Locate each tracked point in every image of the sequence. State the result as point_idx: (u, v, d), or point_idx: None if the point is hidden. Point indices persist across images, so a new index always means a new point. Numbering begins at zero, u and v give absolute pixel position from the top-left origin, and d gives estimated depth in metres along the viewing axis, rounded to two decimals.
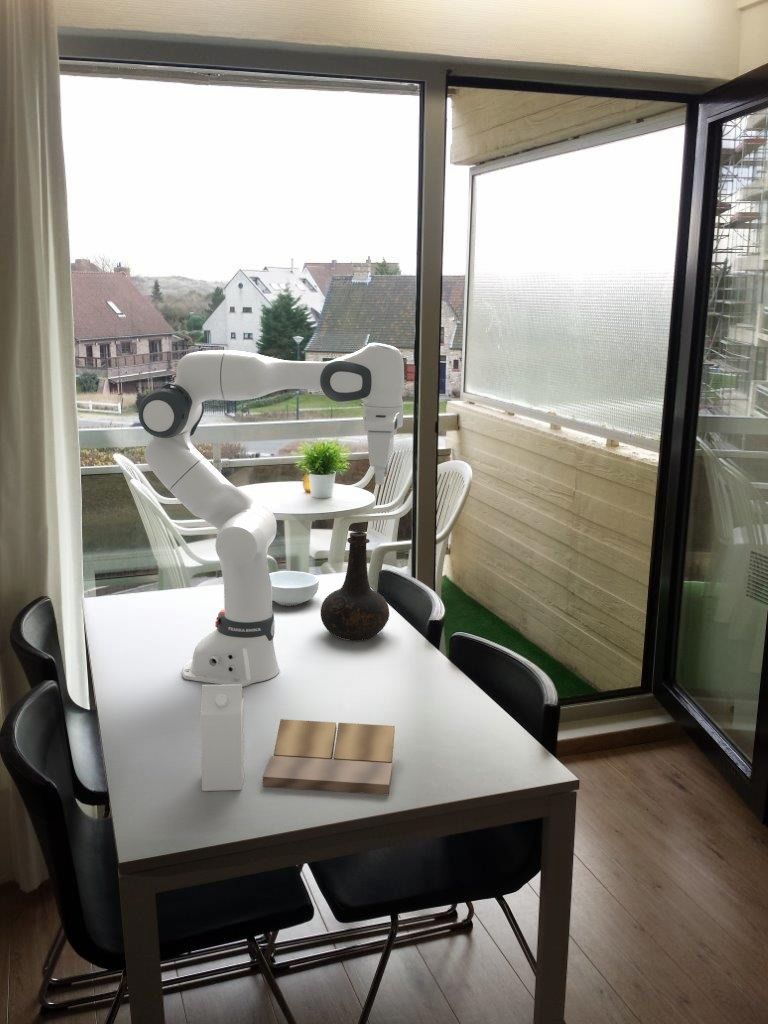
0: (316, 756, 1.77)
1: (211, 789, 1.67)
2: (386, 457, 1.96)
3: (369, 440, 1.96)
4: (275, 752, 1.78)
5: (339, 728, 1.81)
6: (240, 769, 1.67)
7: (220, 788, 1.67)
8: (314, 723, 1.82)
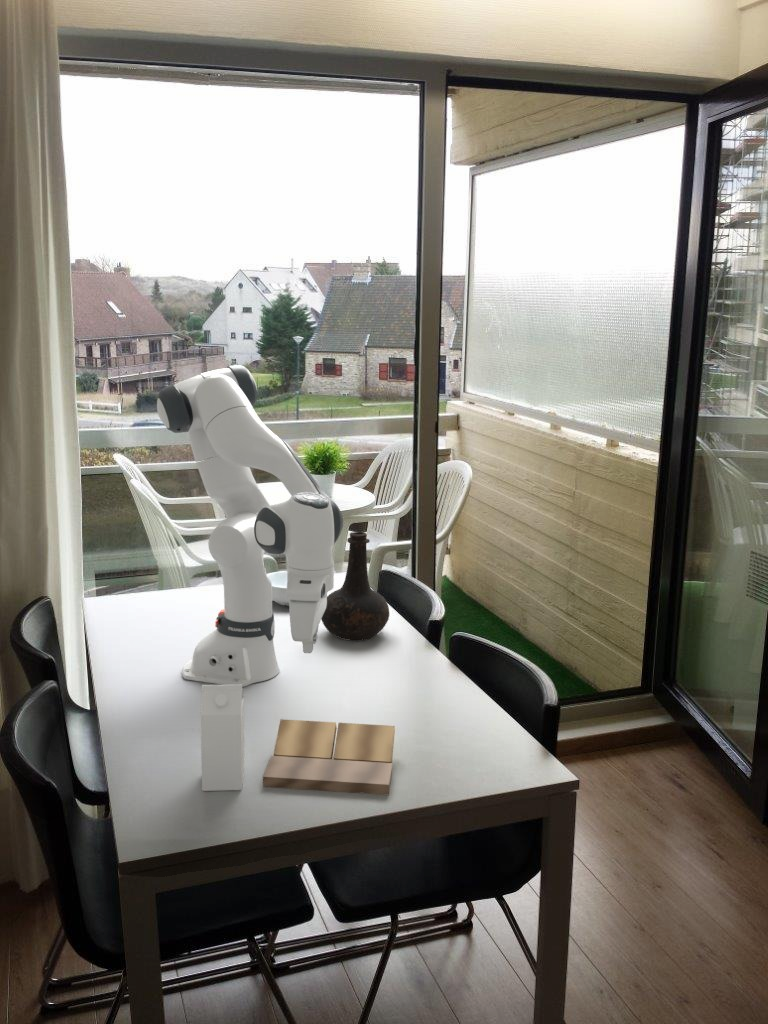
0: (316, 756, 1.77)
1: (211, 789, 1.67)
2: (311, 632, 1.69)
3: (291, 612, 1.69)
4: (275, 752, 1.78)
5: (339, 728, 1.81)
6: (240, 769, 1.67)
7: (220, 788, 1.67)
8: (314, 723, 1.82)
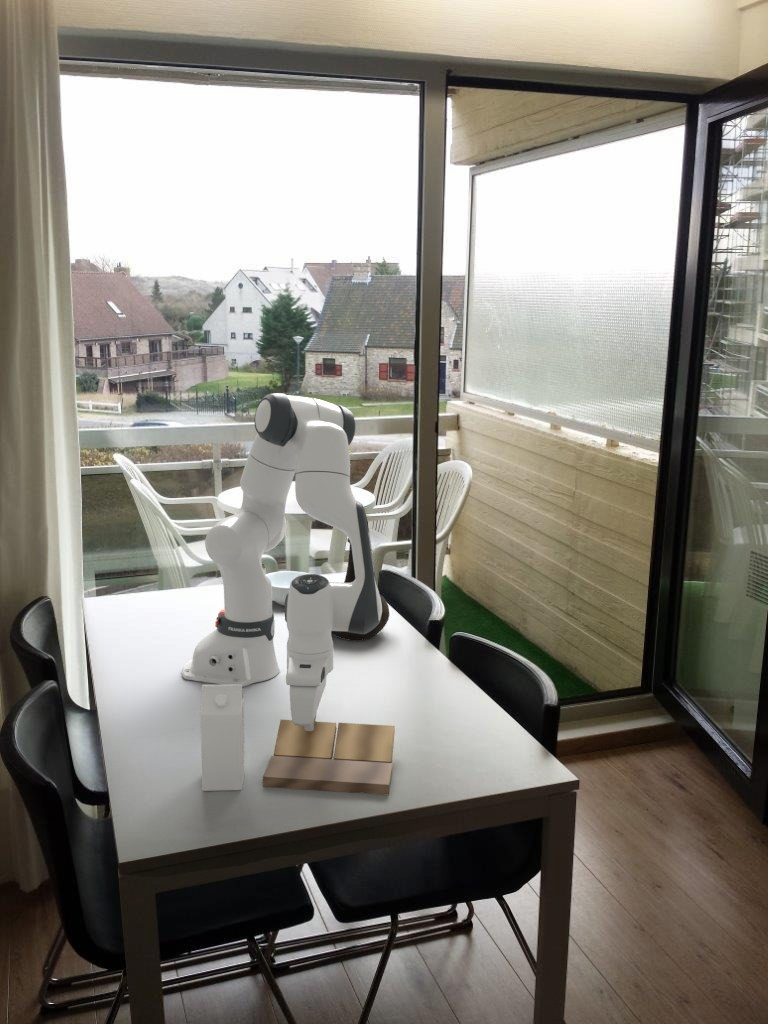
0: (316, 756, 1.77)
1: (211, 789, 1.67)
2: (311, 717, 1.70)
3: (291, 697, 1.69)
4: (275, 752, 1.78)
5: (339, 728, 1.81)
6: (240, 769, 1.67)
7: (220, 788, 1.67)
8: None
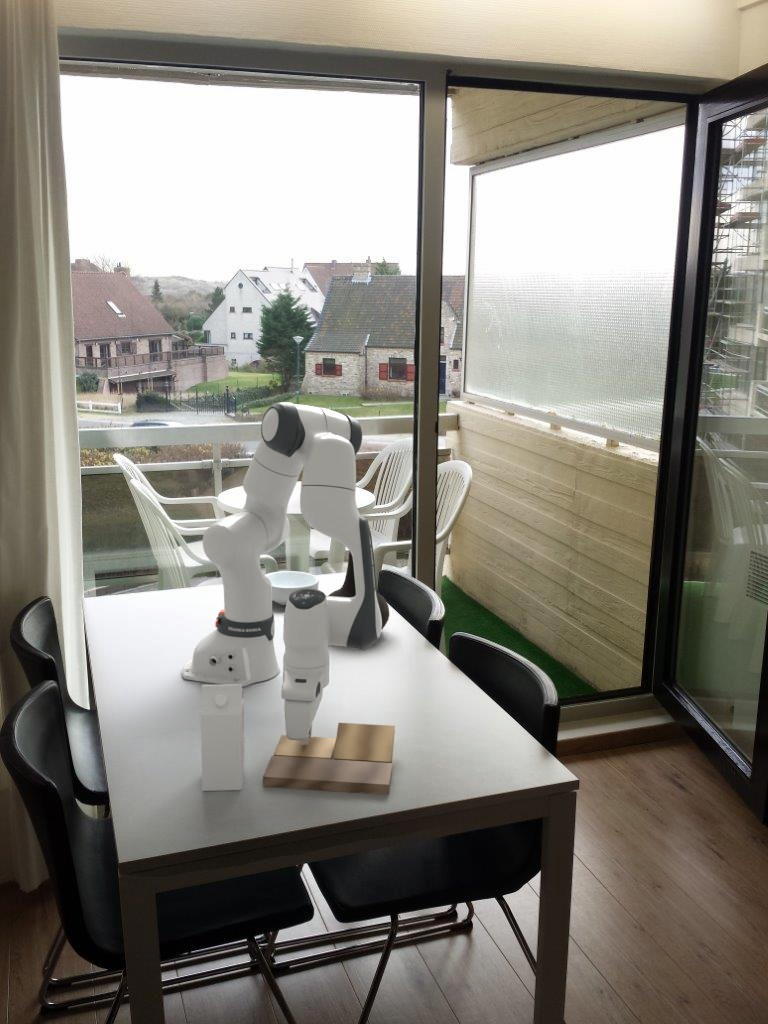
0: (316, 756, 1.77)
1: (211, 789, 1.67)
2: (305, 731, 1.70)
3: (286, 712, 1.70)
4: (275, 753, 1.78)
5: (339, 728, 1.81)
6: (240, 769, 1.67)
7: (220, 788, 1.67)
8: (315, 738, 1.84)
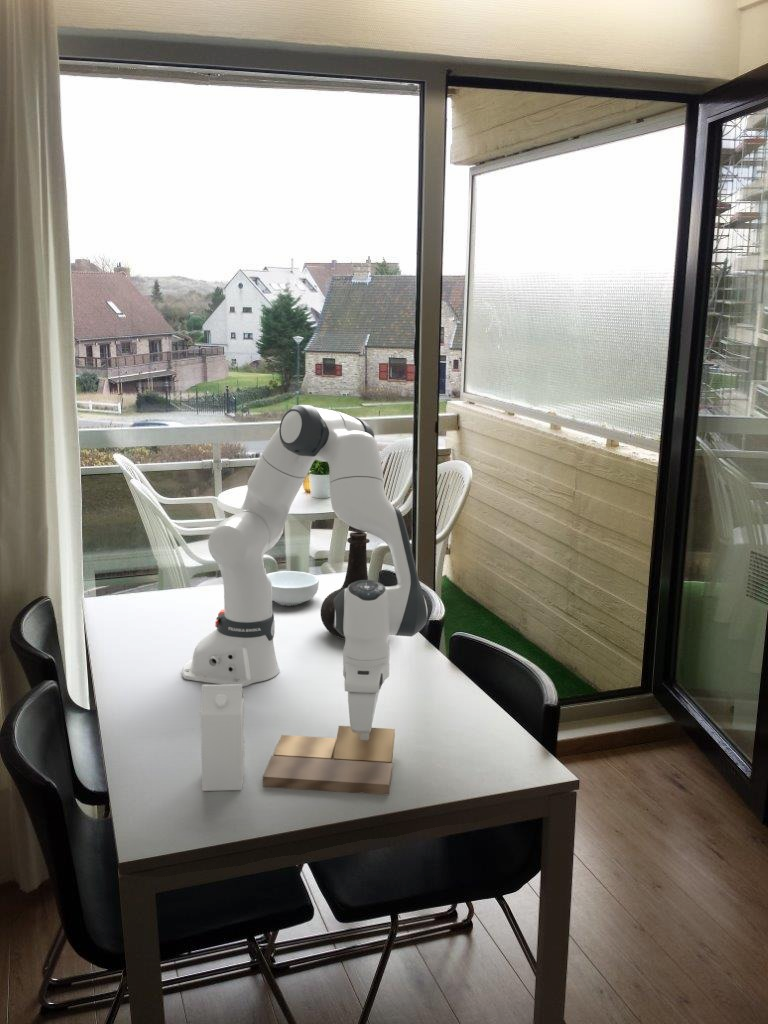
0: (316, 756, 1.77)
1: (211, 789, 1.67)
2: (370, 723, 1.69)
3: (350, 704, 1.69)
4: (275, 753, 1.78)
5: (339, 731, 1.82)
6: (240, 769, 1.67)
7: (220, 788, 1.67)
8: (315, 738, 1.84)
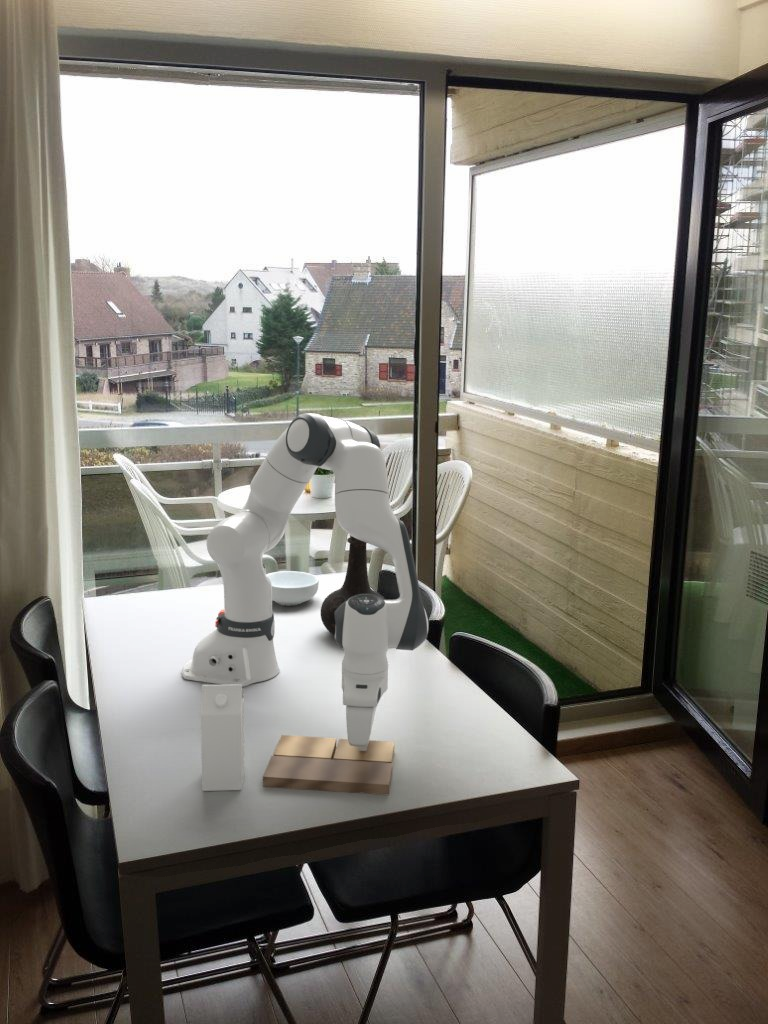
0: (316, 756, 1.77)
1: (211, 789, 1.67)
2: (368, 737, 1.70)
3: (348, 718, 1.69)
4: (275, 753, 1.78)
5: (339, 741, 1.83)
6: (240, 769, 1.67)
7: (220, 788, 1.67)
8: (315, 738, 1.84)
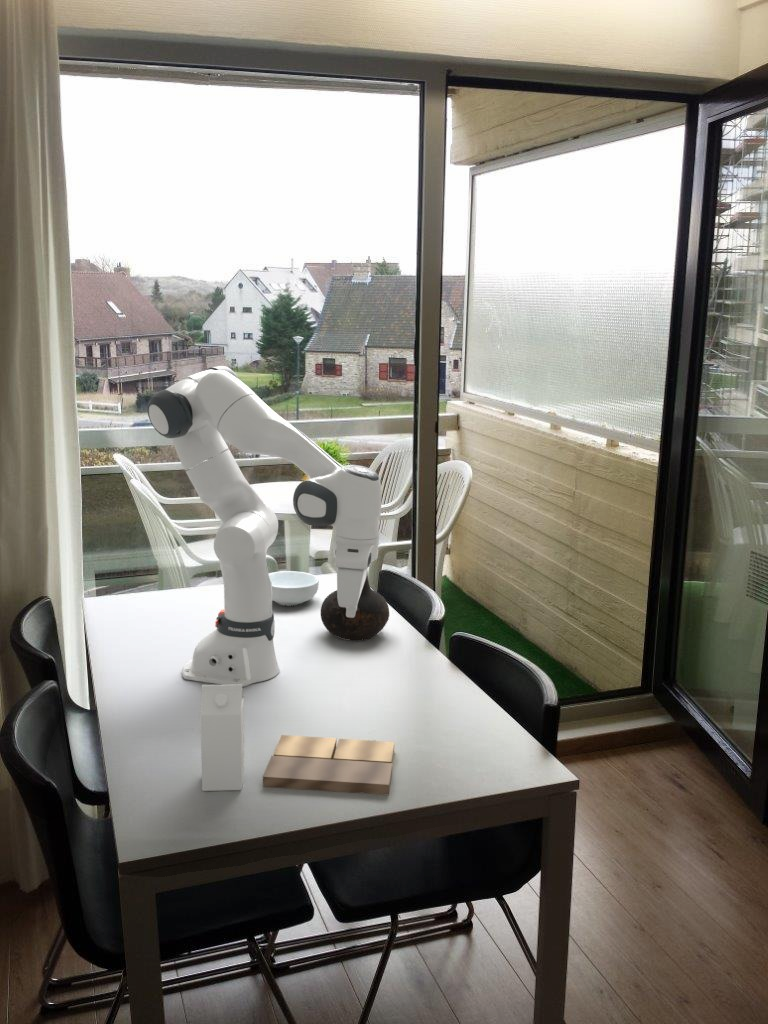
0: (316, 756, 1.77)
1: (211, 789, 1.67)
2: (357, 598, 1.76)
3: (338, 578, 1.76)
4: (275, 753, 1.78)
5: (339, 741, 1.83)
6: (240, 769, 1.67)
7: (220, 788, 1.67)
8: (315, 738, 1.84)
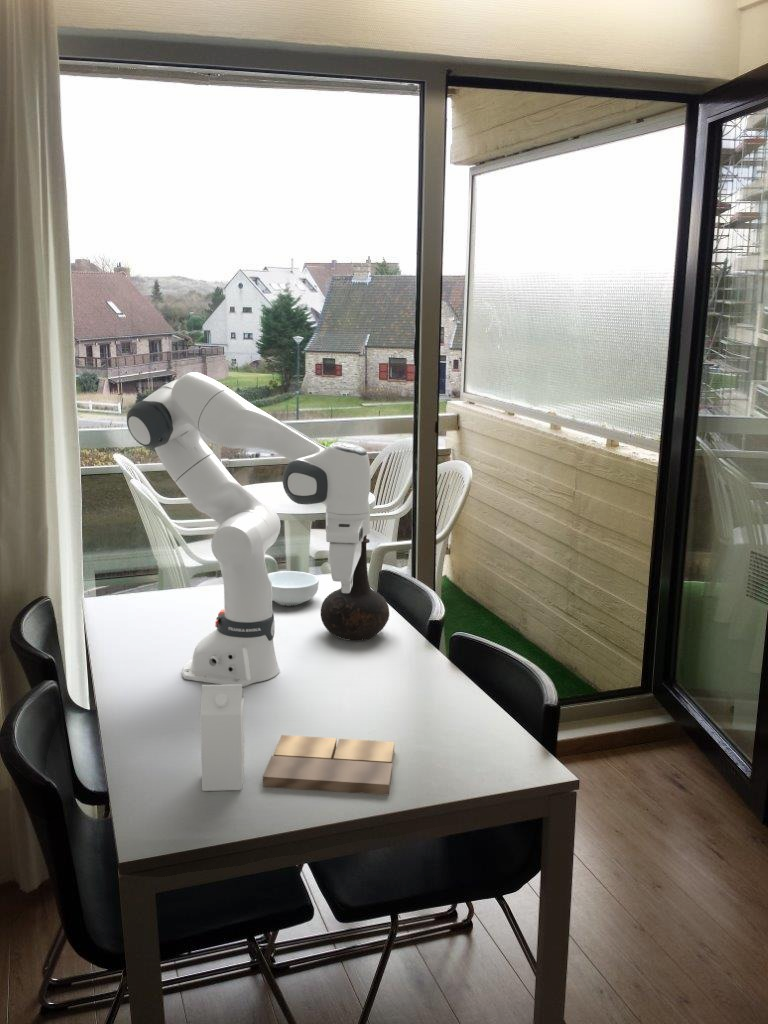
0: (316, 756, 1.77)
1: (211, 789, 1.67)
2: (350, 572, 1.78)
3: (331, 553, 1.78)
4: (275, 753, 1.78)
5: (339, 741, 1.83)
6: (240, 769, 1.67)
7: (220, 788, 1.67)
8: (315, 738, 1.84)
